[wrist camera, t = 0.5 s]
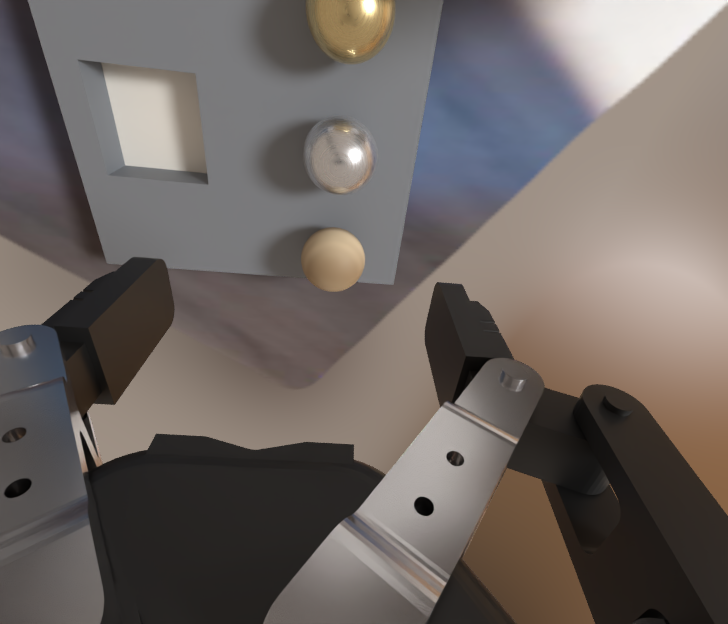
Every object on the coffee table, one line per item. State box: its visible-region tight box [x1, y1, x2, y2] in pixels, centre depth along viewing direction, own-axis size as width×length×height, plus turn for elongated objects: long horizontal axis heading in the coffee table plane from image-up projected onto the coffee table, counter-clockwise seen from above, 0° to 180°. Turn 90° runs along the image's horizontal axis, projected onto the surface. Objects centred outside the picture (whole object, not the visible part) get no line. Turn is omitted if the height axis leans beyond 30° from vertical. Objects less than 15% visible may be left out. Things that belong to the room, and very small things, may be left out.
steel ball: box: [303, 115, 378, 195], centre depth 24 cm, size 4×4×4 cm
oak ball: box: [301, 227, 365, 292], centre depth 28 cm, size 4×4×4 cm
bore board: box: [28, 0, 444, 285], centre depth 26 cm, size 20×22×3 cm
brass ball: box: [306, 0, 396, 65], centre depth 20 cm, size 4×4×4 cm
